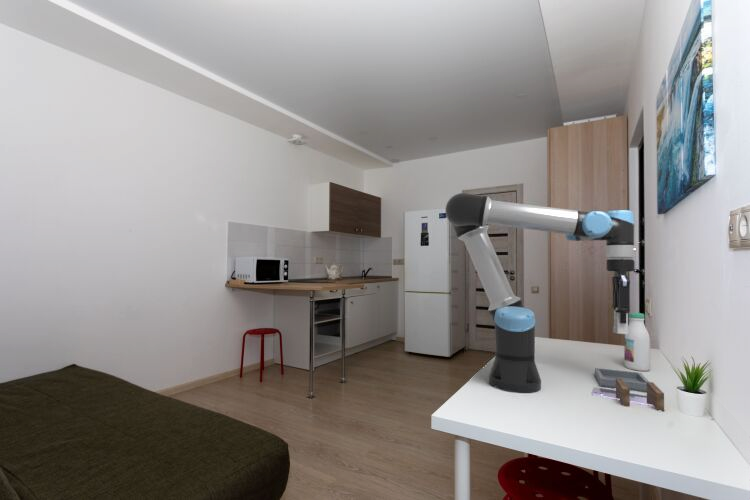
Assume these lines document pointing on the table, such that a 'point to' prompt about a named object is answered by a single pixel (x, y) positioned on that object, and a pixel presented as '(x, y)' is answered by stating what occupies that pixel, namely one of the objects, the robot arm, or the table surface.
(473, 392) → the table surface
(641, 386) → the charcoal tray
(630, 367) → the milk bottle
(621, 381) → the walnut bracket
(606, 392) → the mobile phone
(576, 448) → the table surface
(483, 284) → the robot arm
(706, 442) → the table surface
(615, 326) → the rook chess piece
